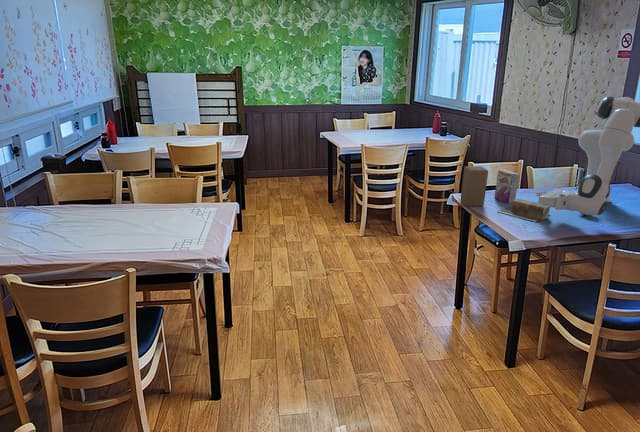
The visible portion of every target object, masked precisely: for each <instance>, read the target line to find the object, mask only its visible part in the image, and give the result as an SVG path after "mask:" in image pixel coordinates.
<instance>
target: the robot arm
mask: <svg viewBox="0 0 640 432" xmlns="http://www.w3.org/2000/svg"><path fill="white" fill-rule="evenodd" d="M596 115H597V117H599V118H600V119H602V123H601V127H602V129H588V130H587V129H586V130H583V131H582V132H581V133H580V134H579V136H578V140H577V141H578V146H579V147H580V148H581V149H582V150H583V151H584V152H585V153H586V157H587V159H588V160H587V161H588V163H587V169H586V173H585V175H584V176H583V177H582V178H581V179H580V180H579V184H578V185H575V190H566V189H565V190H564V189H559V188H555V189H553V190H551V191H538V192H536V195H535V196H536V197H538V201H537V203H540V204H542V205H545V206H548V207H550V208H554V209H555V210H556V211H561V210H566V211H571V212H578V213H580V214H582V215H584V214H588V215H589V216H600V215H602V214H603V213H604V212H606V210H607V207H608V205H609V203H612V201H613V200H612V198H611V197H610V195H611V190H612V187H611V186H610V185H611V181H612V178H613V176H614V172H615V170H616V167H617V164H618V162H619V159H620V157H621V155H622V153H623V152H626V151H629V150H630V149H632V147H633V146H634V144H635V137H634V135H633V133H632V131H633V129H634V128H640V102H639V101H635V99H634V98H632V97H629V96H623V97H622V96H621V97H619V98H618V97H615V96H605V97H604V98H603V99H602V100H601V101H600V102H599V103H598V105H597V107H596Z"/></svg>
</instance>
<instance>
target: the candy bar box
mask: <svg viewBox="0 0 640 432" xmlns="http://www.w3.org/2000/svg"><path fill="white" fill-rule="evenodd" d="M496 176H497V177H496V184H495V185H496V186H495V190H494V191H495V193H494V197H493V198H494V199H497V200H499V201H501V202H503V203H506V204H513V200H516V199H517V198H516V197H517V191H518V185H519V178H520V174H519V173H516V172H513V171H511V170H509V169H508V170H507V169H499V170H498V171H497V175H496Z"/></svg>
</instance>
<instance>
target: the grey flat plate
mask: <svg viewBox="0 0 640 432" xmlns="http://www.w3.org/2000/svg"><path fill="white" fill-rule="evenodd" d="M511 210H512V204H511V205H509V206H507V207H504V208H502V209H499V210H496V213H498V214H499V213H500V214H503V215H505V216H510V217H513V218H517V219H521V220H525V221H529V222H533V223H538V222H540V221H542V220H541V219H537V218H533V217H529V216H526V215H522V214H518V213H514V212H511ZM549 216H551V214H550V213H549V214H548V217H549ZM539 220H540V221H539Z"/></svg>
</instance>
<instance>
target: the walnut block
mask: <svg viewBox="0 0 640 432" xmlns="http://www.w3.org/2000/svg"><path fill="white" fill-rule="evenodd" d="M511 205H512V210H511V212H514V213H518V214H522V215H526V216H529V217H533V218H537V219H541V220H540V221H544V220H546V219H547V218H549V216H548V214H550V208H551V207H548V206H545V205H542V204H540V203H538V202H536V201H531V200H528V199H523V198H515V200H513V203H511Z"/></svg>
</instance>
